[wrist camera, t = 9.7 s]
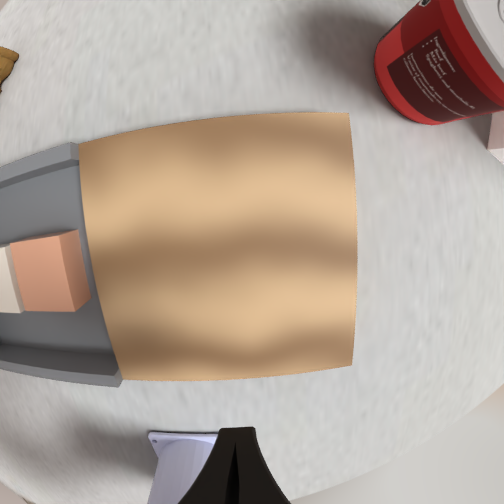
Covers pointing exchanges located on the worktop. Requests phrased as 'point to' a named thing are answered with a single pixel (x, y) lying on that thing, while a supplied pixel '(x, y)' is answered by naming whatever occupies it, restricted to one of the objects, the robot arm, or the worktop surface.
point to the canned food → (444, 61)
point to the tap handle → (6, 62)
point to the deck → (225, 245)
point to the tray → (90, 314)
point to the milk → (497, 136)
